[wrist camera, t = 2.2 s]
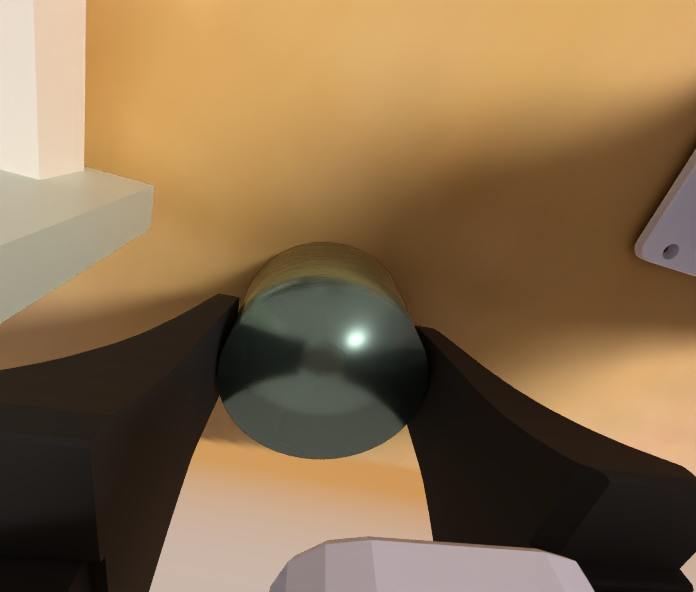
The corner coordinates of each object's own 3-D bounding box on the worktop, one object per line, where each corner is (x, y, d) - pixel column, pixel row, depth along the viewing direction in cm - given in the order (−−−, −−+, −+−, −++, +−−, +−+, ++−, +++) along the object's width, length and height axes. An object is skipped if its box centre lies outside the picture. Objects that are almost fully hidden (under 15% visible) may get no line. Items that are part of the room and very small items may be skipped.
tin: (424, 266, 12) (461, 319, 9) (372, 392, 14) (388, 472, 11) (261, 222, 11) (238, 262, 8) (231, 364, 13) (203, 442, 10)
